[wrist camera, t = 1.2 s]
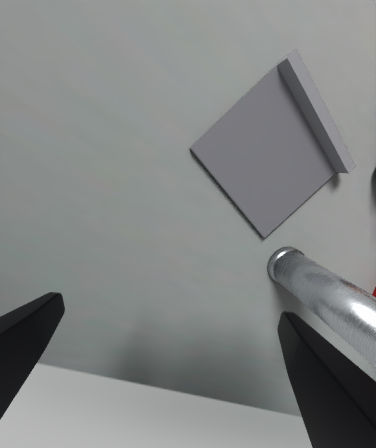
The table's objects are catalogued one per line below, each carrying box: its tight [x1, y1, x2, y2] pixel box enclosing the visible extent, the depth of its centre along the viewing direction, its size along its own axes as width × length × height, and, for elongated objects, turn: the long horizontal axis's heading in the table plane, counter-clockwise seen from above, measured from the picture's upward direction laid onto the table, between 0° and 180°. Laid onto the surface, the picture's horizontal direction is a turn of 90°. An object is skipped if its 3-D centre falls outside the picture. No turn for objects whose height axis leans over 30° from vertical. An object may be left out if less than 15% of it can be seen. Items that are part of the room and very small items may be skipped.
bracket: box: [190, 49, 356, 238], centre depth 20 cm, size 11×12×2 cm
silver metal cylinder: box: [267, 247, 376, 368], centre depth 19 cm, size 4×4×12 cm
